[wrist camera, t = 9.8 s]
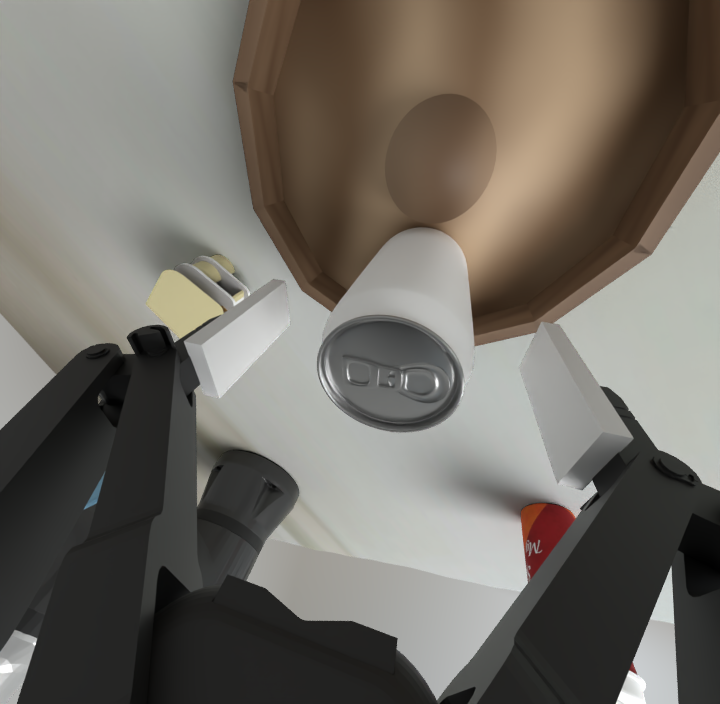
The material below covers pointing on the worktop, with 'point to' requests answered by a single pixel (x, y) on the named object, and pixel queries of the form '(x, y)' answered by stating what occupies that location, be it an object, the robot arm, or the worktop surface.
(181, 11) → the worktop surface
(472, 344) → the can
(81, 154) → the worktop surface
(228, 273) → the yellow layered block
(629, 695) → the paper cup
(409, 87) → the tray
